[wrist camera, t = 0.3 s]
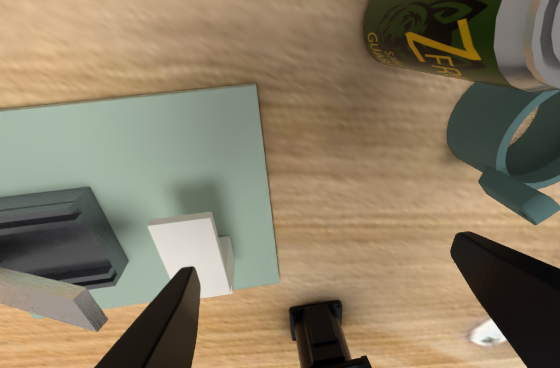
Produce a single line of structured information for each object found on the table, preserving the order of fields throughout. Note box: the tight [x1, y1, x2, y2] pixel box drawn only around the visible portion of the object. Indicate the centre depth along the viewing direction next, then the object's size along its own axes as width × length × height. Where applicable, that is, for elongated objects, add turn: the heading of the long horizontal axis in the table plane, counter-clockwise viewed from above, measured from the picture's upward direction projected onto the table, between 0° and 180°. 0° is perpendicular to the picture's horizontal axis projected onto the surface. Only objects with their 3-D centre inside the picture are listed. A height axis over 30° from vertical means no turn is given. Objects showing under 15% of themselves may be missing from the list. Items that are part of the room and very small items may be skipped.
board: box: [0, 83, 280, 319], centre depth 22 cm, size 20×25×1 cm
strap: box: [0, 267, 108, 332], centre depth 17 cm, size 4×15×1 cm, turn 94°
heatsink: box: [0, 186, 129, 290], centre depth 20 cm, size 8×11×4 cm
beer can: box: [363, 0, 560, 92], centre depth 12 cm, size 5×5×12 cm
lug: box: [147, 211, 235, 298], centre depth 20 cm, size 8×4×4 cm, turn 4°
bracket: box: [447, 82, 560, 225], centre depth 18 cm, size 9×9×9 cm
